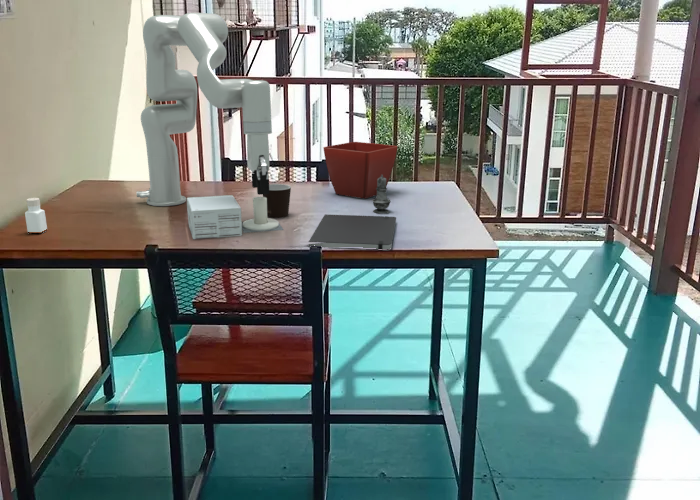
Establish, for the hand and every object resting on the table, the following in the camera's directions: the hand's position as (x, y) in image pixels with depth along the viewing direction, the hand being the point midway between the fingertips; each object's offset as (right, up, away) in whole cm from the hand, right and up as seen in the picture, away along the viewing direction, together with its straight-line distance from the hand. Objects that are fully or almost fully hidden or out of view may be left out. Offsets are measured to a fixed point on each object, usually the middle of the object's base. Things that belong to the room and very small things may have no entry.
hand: (260, 190), depth 178 cm
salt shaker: (-62, -12, +1) cm, 63 cm away
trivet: (0, -11, +4) cm, 12 cm away
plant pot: (+28, +3, +50) cm, 58 cm away
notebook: (+26, -13, +2) cm, 29 cm away
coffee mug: (+3, -7, +17) cm, 19 cm away
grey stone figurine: (+34, -4, +26) cm, 43 cm away
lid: (0, -10, +3) cm, 10 cm away
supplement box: (-13, -12, +1) cm, 18 cm away
